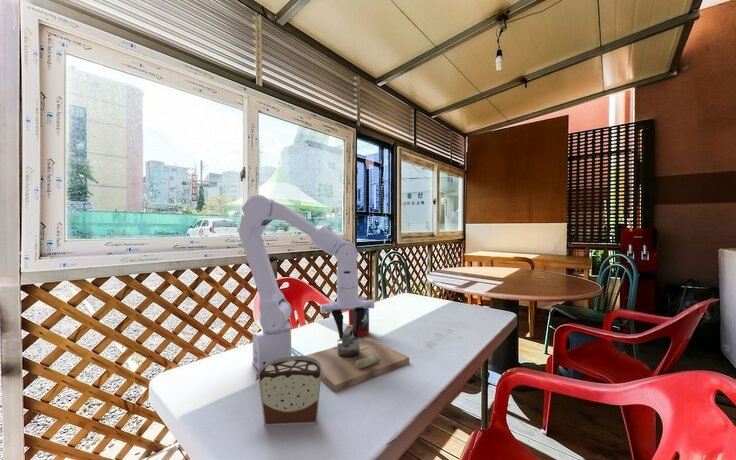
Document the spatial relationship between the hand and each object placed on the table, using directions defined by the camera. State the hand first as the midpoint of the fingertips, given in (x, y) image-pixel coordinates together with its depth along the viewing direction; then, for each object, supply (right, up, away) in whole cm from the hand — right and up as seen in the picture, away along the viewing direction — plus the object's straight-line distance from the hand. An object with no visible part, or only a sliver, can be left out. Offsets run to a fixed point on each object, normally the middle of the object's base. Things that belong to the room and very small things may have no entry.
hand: (348, 336), depth 79 cm
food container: (-9, -6, -23) cm, 26 cm away
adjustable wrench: (-17, -7, +7) cm, 20 cm away
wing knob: (0, -4, 0) cm, 4 cm away
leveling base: (+2, -6, -2) cm, 7 cm away
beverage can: (+2, -6, +19) cm, 20 cm away
